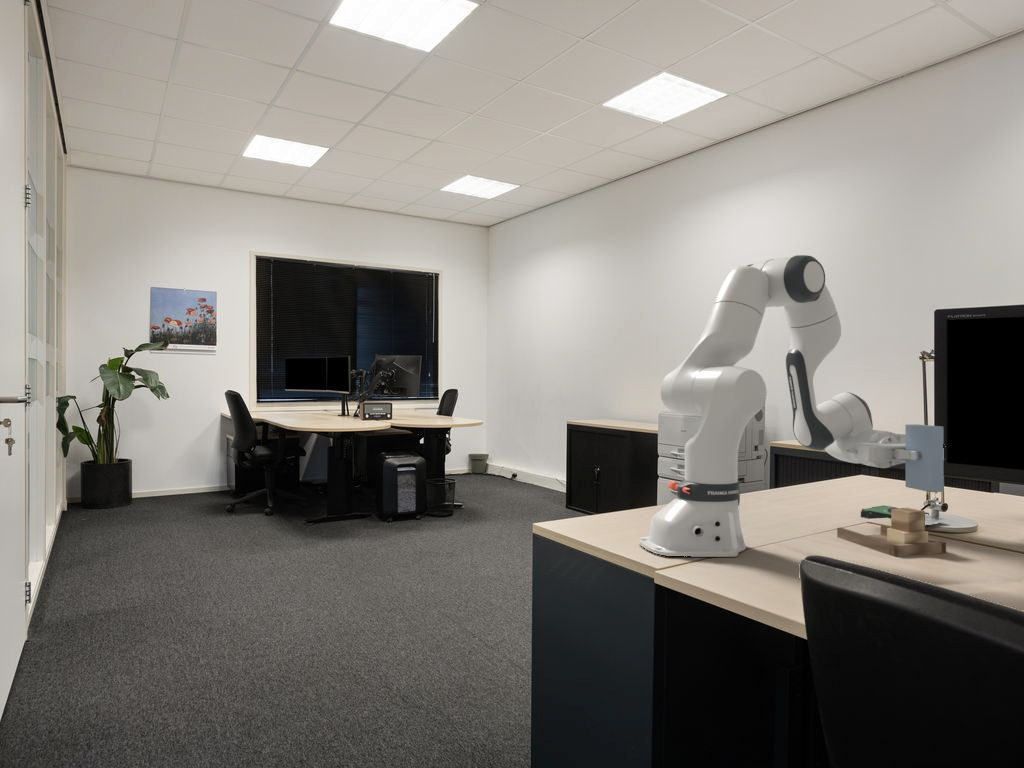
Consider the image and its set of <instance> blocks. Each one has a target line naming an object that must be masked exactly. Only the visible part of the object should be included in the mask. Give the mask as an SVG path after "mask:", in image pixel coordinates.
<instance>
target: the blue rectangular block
mask: <svg viewBox="0 0 1024 768" xmlns="http://www.w3.org/2000/svg"><path fill="white" fill-rule="evenodd" d="M904 430H905V434H904V435H905V450H909V451H919V452H921V459H920V460H912V459H905V462H906V463H905V488H907V489H908V488H910V489H912V490H918V491H923V492H927V493H943V492H944V488H945V487H944V479H945V477H944V474H945V473H944V467H945V466H944V464H945V463H944V460H945V459H944V448H943V444H944V426H943V425H942V426H940V425H929V424H918V423H917V424H905V429H904Z"/></svg>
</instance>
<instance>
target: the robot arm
mask: <svg viewBox="0 0 1024 768" xmlns="http://www.w3.org/2000/svg"><path fill="white" fill-rule="evenodd" d="M773 307H775V308H778V307H783V310H784V314H785V318H786V321H787V325H788V327H789V328H788V329H789V334H790V335H789V336H790V341H789V342H790V345H789V349H788V351H787V354H786V356H785V369H786V375H787V381H788V389H789V394H790V395H789V396H790V400H791V401H790V403H791V408H792V431H793V434H794V438H795V439H796V440H797V442H798V443H799V444H800V445H801V446H803V447H805V448H807V449H810V450H814V451H823V450H825V452H826V453H827V454H828V455H830V456H832V457H833V458H835V459H837V460H839V461H843V462H847V463H851V464H861V465H865V466H868V467H873V468H880V469H888V468H891V467H892V466H898V465H902V464H906V462H905V459H912V460H920V459H921V452H919V451H909V450H905V434H900V433H894V432H892V431H891V432H890V431H889V430H876V429H873V427H874V426H873V425H874V424H873V418H872V413H871V409H870V408H869V405H868V403H867V402H866V401H865V400H864V399H863V398H861V397H860V396H859V395H857V394H854V393H853V392H849V391H841V392H840V393H838V394H836V395H834V396H831V397H830V398H828V399H827V400H825V401H824V402H821V403H819V404H817V401H816V395H815V389H814V388H815V387H814V376H815V373H816V371H817V369H818V367H820V364H821V363H822V362H823V360H824V359H825V358H826V357H827V356H829V354H830V353H831V352H833V350H834V349H835V348H836V346H837V345H838V343H839V341H840V339H841V337H842V336H841V335H842V326H841V325H842V324H841V322H840V321H841V319H840V317H839V314H838V312H837V308H836V305H835V303H834V300H833V297H832V296H831V293H830V291H829V289H828V287H827V285H826V272H825V269H824V267H823V265H822V264H821V262H820V261H819V260H818V259H816V257H814V256H813V255H805V254H801V255H794V256H790V257H789V256H788V257H782V258H781V257H780V258H771V259H767V260H763V261H760V262H757V263H754V264H753V263H752V264H747V265H741V266H737V267H735V268H732V270H731V271H729V272H728V274H727V275H726V277H725V278H724V280H723V282H722V284H721V286H720V288H719V290H718V292H717V294H716V296H715V299H714V301H713V304H712V306H711V309H710V312H709V315H708V317H707V321H706V322H705V325H704V329H703V330H702V334H701V336H700V338H699V339H698V341H697V343H695V345H694V347H693V348H692V350H691V351H690V352H689V354H688V355H687V356H686V358H684V360H683V361H682V362H681V364H679V365H678V366H677V367H676V368H675V369H673V370H672V371H671V372H669V373H667V374H666V375H665V377H664V378H663V380H662V381H661V385H660V397H661V398H660V399H661V400H662V403H663V405H664V406H665V408H667V409H668V410H670V411H672V412H674V413H677V414H680V415H684V416H687V417H688V416H689V417H691V416H692V417H701V421H700V425H699V428H698V431H696V434H695V435H694V436H692V437H691V438H689V439H688V440H687V441H686V443H685V445H684V479H683V480H681V482H680V483H679V482H677V481H674V480H671V481H669V483H668V486H667V487H668V489H669V490H670V491H673V492H676V497H675V498H674V499H672V501H670V502H669V503H667V504H666V505H665V506H664V507H663V508H661V509H660V510H658V511H657V512H656V513H655V514H653V516H652V517H651V522H650V524H649V525H650V526H649V533H648V535H647V536H646V535H645V536H641V537H640V538H639V539H638V543H639V542H640V544H641V545H643V546H644V547H646V548H647V549H649V550H651V551H653V552H656V553H658V554H662V555H666V556H684V557H683V558H685V556H686V557H687V556H691V557H690V558H692V557H693V558H699V557H700V558H701V557H702V558H703V557H704V558H706V557H710V558H711V557H712V558H715V557H719V558H723V557H724V558H725V557H726V558H727V557H728V558H729V557H731V558H732V557H738V555H739V553H741V552H743V551H745V550H746V548H747V545H746V542H745V539H744V536H743V531H742V526H741V519H740V510H739V508H740V507H739V506H740V500H741V488H740V487H741V486H740V481H738V479H739V478H738V474H739V473H738V471H739V469H738V468H739V467H738V466H739V462H738V461H739V448H740V443H741V439H742V435H743V434H744V431H745V428H746V427H747V425H748V423H749V422H750V421H751V419H752V418H754V416H755V415H756V414H758V413H759V412H760V411H761V410H762V409H763V407H764V405H765V403H766V399H767V392H768V391H767V386H766V383H765V380H764V379H763V377H762V376H761V374H759V373H758V371H757V370H753V369H750V368H745V367H741V366H735V365H736V364H737V363H738V362H739V361H741V360H743V359H744V358H746V357H747V356H748V355H749V354H750V353H751V352H752V351H753V349H754V346H755V344H756V339H757V336H758V333H759V330H760V327H761V324H762V321H763V318H764V314H765V312H766V308H773ZM687 558H688V557H687Z"/></svg>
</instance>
